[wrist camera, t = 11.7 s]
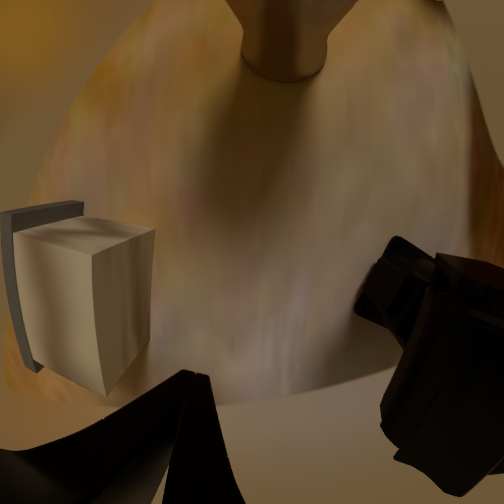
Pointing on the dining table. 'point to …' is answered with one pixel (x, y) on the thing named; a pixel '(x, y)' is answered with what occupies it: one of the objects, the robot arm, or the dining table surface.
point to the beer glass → (287, 35)
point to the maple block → (85, 296)
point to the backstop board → (9, 225)
